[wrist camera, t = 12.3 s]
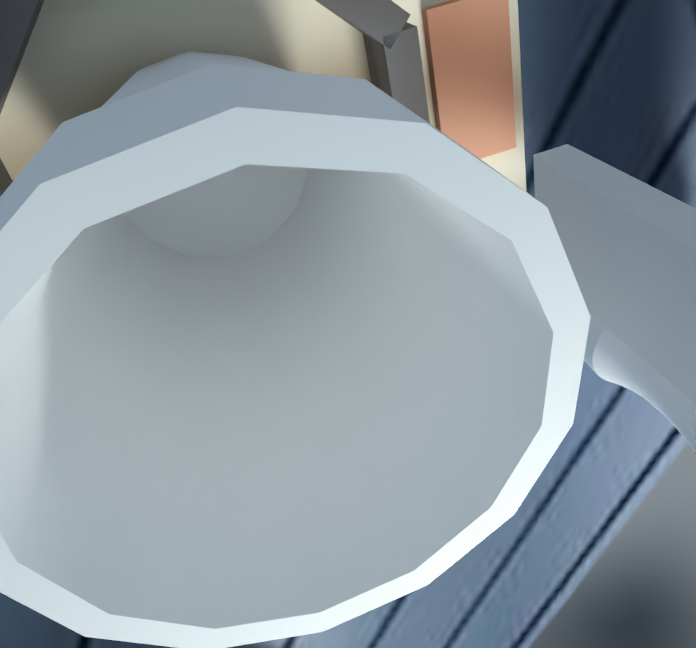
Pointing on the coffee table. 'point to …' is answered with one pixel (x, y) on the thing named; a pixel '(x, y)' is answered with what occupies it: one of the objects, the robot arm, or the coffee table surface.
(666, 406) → the water bottle
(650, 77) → the coffee table surface
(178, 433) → the foam cup
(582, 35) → the coffee table surface
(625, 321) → the robot arm
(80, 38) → the socket board
